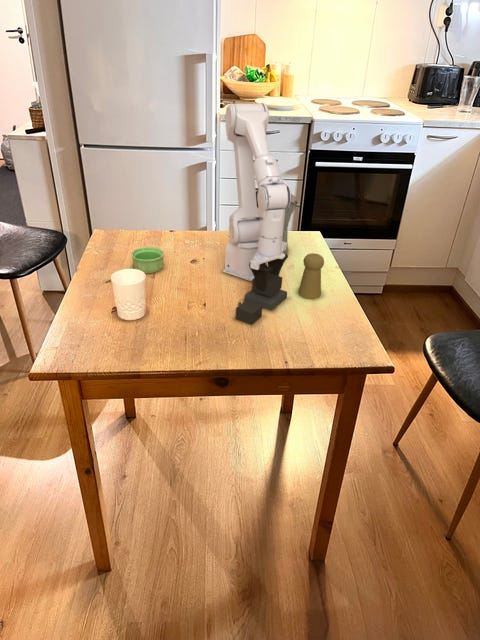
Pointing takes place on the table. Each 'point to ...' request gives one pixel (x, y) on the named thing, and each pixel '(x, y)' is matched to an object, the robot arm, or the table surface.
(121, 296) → the white cup
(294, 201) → the moka pot
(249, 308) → the top pad
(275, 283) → the middle pad
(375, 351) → the table surface
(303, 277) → the olive game pawn
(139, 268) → the ramekin
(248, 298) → the base pad
